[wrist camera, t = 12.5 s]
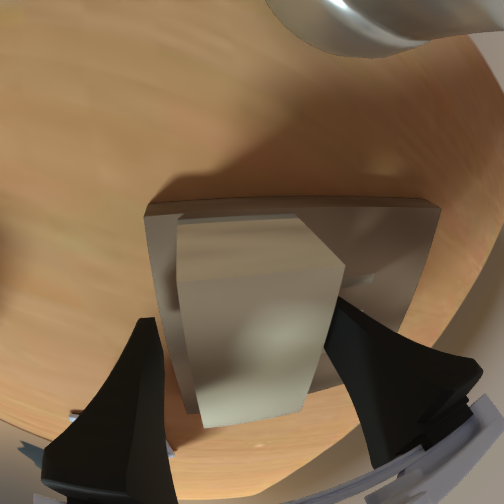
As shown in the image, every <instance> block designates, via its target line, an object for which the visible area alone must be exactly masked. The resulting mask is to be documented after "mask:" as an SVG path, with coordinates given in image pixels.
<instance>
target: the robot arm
mask: <svg viewBox="0 0 504 504" xmlns="http://www.w3.org/2000/svg"><path fill="white" fill-rule="evenodd" d="M323 347H324V350H325V352H326V353H327V355H328V357H329V359H330V360H331V362H332V364H333V366H334V368H335V369H336V371H337V373H338V374H339V376H340V378H341V380H342V381H343V383H344V385H345V387H346V389H347V391H348V393H349V395H350V397H351V400H352V402H353V405H354V407H355V410H356V412H357V415H358V418H359V421H360V423H361V426H362V429H363V433H364V436H365V439H366V443H367V447H368V451H369V455H370V460H371V464H372V467H373V468H374V470H373V471H371V472H369V473H366V474H364V475H362V476H360V477H358V478H355V479H353V480H351V481H348V482H346V483H343V484H341V485H338V486H335V487H333V488H330V489H327V490H325V491H322V492H319V493H316V494H313V495H309V496H306V497H303V498H300V499H296V500H293V501H289V502H285V503H281V504H334V503H337V502H339V501H342V500H344V499H347V498H349V497H351V496H354V495H356V494H358V493H360V492H362V491H365V490H367V489H369V488H371V487H373V486H375V485H377V484H379V483H381V482H383V481H385V480H387V479H388V478H391V477H392V476H394V475H396V474H398V473H399V474H398V476H397V479H396V480H395V481H393V482H391V483H389V484H388V485H386V486H384V487H382V488H380V489H379V490H377V491H375V492H373V493H371V494H369V495H367V496H365V498H364V499H365V501H366V503H367V504H437V503H438V502H440V501H441V500H442V499H443V498H444V497H445V496H446V495H447V494H448V493H449V492H450V491H451V490H452V489H453V488H454V487H456V486H457V485H458V484H459V483H460V481H461V480H462V479H463V478H464V477H465V476H466V475H467V474H468V473H469V472H470V471H471V470H472V469H473V468H474V466H475V465H476V464H477V463H478V462H479V461H480V460H481V458H482V457H483V456H484V455H485V454H486V452H487V451H488V450H489V449H490V447H491V446H492V445H493V444H494V442H495V441H496V440H497V439H498V438H499V437H500V435H501V434H502V433H503V432H504V418H503V416H502V415H501V413H500V412H499V411H498V409H497V408H496V406H495V405H494V404H493V402H492V401H491V400H490V398H489V397H488V396H487V395H486V394H483V395H482V396H481V397H480V398H479V399H478V400H476V401H475V402H474V403H473V404H472V405H471V406H470V407H468V405H467V404H466V403H468V402H469V399H468V398H467V396H466V395H467V394H468V393H469V391H470V390H471V389H472V388H473V387H474V385H475V384H476V383H477V382H478V380H479V379H480V378H481V376H482V374H483V369H482V368H481V367H480V366H479V365H478V363H477V362H476V361H475V360H474V359H472V358H467V357H461V356H456V355H452V354H448V353H444V352H440V351H438V350H435V349H432V348H429V347H426V346H424V345H421V344H419V343H416V342H414V341H412V340H410V339H408V338H406V337H404V336H402V335H400V334H398V333H396V332H394V331H393V330H391V329H389V328H387V327H386V326H384V325H382V324H381V323H379V322H378V321H376V320H374V319H373V318H371V317H370V316H368V315H367V314H365V313H364V312H362V311H361V310H359V309H358V308H356V307H355V306H353V305H352V304H350V303H349V302H347V301H346V300H344V299H343V298H341V297H339V296H338V297H337V301H336V305H335V309H334V312H333V316H332V319H331V323H330V326H329V330H328V333H327V336H326V340H325V343H324V346H323ZM164 383H165V369H164V355H163V349H162V345H161V341H160V337H159V334H158V330H157V326H156V322H155V317H151V318H140V319H139V320H138V321H137V323H136V326H135V328H134V330H133V332H132V334H131V336H130V338H129V340H128V342H127V344H126V346H125V348H124V350H123V352H122V354H121V356H120V358H119V360H118V361H117V363H116V365H115V366H114V368H113V370H112V371H111V373H110V375H109V376H108V378H107V380H106V381H105V383H104V384H103V386H102V387H101V388H100V390H99V391H98V393H97V394H96V395H95V397H94V398H93V399H92V401H91V402H90V403H89V404H88V406H87V407H86V408H85V409H84V411H83V412H82V413H81V414H80V415H77V414H69V420H70V421H71V422H72V424H71V425H70V426H69V427H68V428H67V429H66V430H65V431H64V432H63V433H62V434H61V435H59V436H58V437H57V438H56V439H55V440H54V441H53V442H51V443H50V444H49V445H48V446H47V447H45V449H44V453H43V459H42V470H41V481H42V483H43V484H44V485H46V486H47V487H49V488H51V489H53V490H55V491H57V492H58V493H60V494H63V495H65V496H67V503H66V502H63V501H60V500H57V499H53V498H49V497H46V496H43V495H40V494H37V493H35V494H34V504H178V501H177V497H176V493H175V489H174V485H173V480H172V475H171V470H170V465H169V459H168V457H174V456H175V453H174V452H173V450H172V448H171V447H170V445H169V443H168V442H167V440H166V438H165V430H164Z"/></svg>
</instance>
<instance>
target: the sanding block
mask: <svg viewBox="0 0 504 504" xmlns="http://www.w3.org/2000/svg"><path fill="white" fill-rule="evenodd" d="M344 269H345V264H344V263H343V262H342V261H341V260H340V259H339V258H338V257H337V256H336V255H335V254H334V253H333V252H332V251H331V250H330V249H329V248H328V247H327V246H326V245H325V244H324V243H323V242H322V241H321V240H320V239H319V238H318V237H317V236H316V235H315V234H314V233H313V232H312V231H311V230H310V229H309V228H308V227H307V226H306V225H305V224H304V223H303V222H302V221H301V220H300V219H299V218H298V217H297V216H296V215H295V214H270V215H248V216H229V217H212V218H196V219H182V220H177V254H176V282H177V290H178V297H179V304H180V311H181V317H182V324H183V330H184V336H185V341H186V347H187V352H188V358H189V363H190V368H191V373H192V378H193V383H194V387H195V392H196V396H197V401H198V405H199V410H200V414H201V418H202V422H203V426H204V428H212V427H220V426H228V425H235V424H241V423H247V422H253V421H259V420H264V419H269V418H274V417H278V416H283V415H287V414H291V413H295V412H299V411H301V409H302V407H303V404H304V401H305V399H306V396H307V393H308V391H309V388H310V385H311V382H312V379H313V377H314V374H315V371H316V368H317V365H318V362H319V359H320V356H321V352H322V349H323V346H324V343H325V340H326V336H327V333H328V330H329V326H330V323H331V319H332V316H333V312H334V309H335V305H336V301H337V297H338V294H339V290H340V286H341V282H342V278H343V274H344Z"/></svg>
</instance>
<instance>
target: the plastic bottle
mask: <svg viewBox="0 0 504 504" xmlns="http://www.w3.org/2000/svg"><path fill="white" fill-rule="evenodd" d="M265 1H266V3H267V5H268V6H269V7H270V9H271V10H272V12H273V13H274V15H275V16H276V17H277V18H278V19H279V20H280V21H281V23H282V24H283V25H284V26H285V27H286V28H287V29H289V30H290V31H291V32H292V33H294V34H295V35H296V36H297V37H298V38H300V39H302V40H303V41H305V42H306V43H308V44H310V45H311V46H313V47H315V48H318V49H320V50H322V51H324V52H327V53H331V54H334V55H337V56H345V57H356V58H370V59H374V58H385V57H388V56H391V55H394V54H397V53H400V52H404V51H407V50H410V49H414V48H416V47H419V46H421V45H423V44H426V43H428V42H430V41H431V40H434V39H439V38H445V37H450V36H457V35H464V34H472V33H481V32H493V31H504V0H265Z"/></svg>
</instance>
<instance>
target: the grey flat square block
mask: <svg viewBox="0 0 504 504" xmlns="http://www.w3.org/2000/svg"><path fill="white" fill-rule="evenodd" d="M440 212H441V208H440V207H438V206H436V205H434V204H433V203H431V202H429V201H427V200H425V199H413V198H392V197H362V196H276V197H244V198H222V199H204V200H189V201H175V202H163V203H151V204H148V206H147V209H146V212H145V214H144V223H145V231H146V238H147V245H148V252H149V258H150V264H151V270H152V276H153V281H154V287H155V292H156V297H157V302H158V307H159V312H160V316H161V321H162V325H163V329H164V334H165V338H166V342H167V346H168V350H169V354H170V358H171V361H172V365H173V369H174V372H175V376H176V379H177V383H178V386H179V389H180V393H181V396H182V399H183V402H184V406H185V409H186V412H187V414H195V413H200V410H199V405H198V401H197V396H196V392H195V387H194V383H193V378H192V373H191V368H190V363H189V358H188V352H187V347H186V341H185V336H184V330H183V324H182V317H181V311H180V304H179V297H178V290H177V282H176V254H177V220H182V219H196V218H212V217H229V216H248V215H270V214H295V215H296V216H297V217H298V218H299V219H300V220H301V221H302V222H303V223H304V224H305V225H306V226H307V227H308V228H309V229H310V230H311V231H312V232H313V233H314V234H315V235H316V236H317V237H318V238H319V239H320V240H321V241H322V242H323V243H324V244H325V245H326V246H327V247H328V248H329V249H330V250H331V251H332V252H333V253H334V254H335V255H336V256H337V257H338V258H339V259H340V260H341V261H342V262H343V263H344V264H345V269H344V274H343V278H342V282H341V286H340V290H339V294H338V296H339V297H341V298H343V299H344V300H346V301H347V302H349V303H350V304H352V305H353V306H355V307H356V308H358V309H359V310H361V311H362V312H364V313H365V314H367V315H368V316H370V317H371V318H373V319H374V320H376V321H378V322H379V323H381V324H382V325H384V326H386V327H387V328H389V329H391V330H393V331H394V332H396V333H397V332H398V330H399V328H400V325H401V323H402V321H403V319H404V317H405V314H406V312H407V310H408V307H409V305H410V303H411V300H412V298H413V295H414V293H415V290H416V288H417V285H418V282H419V280H420V277H421V274H422V271H423V269H424V266H425V263H426V260H427V257H428V254H429V251H430V248H431V244H432V241H433V238H434V234H435V231H436V227H437V224H438V220H439V216H440ZM341 384H344V383H343V381H342V380H341V378H340V376H339V374H338V373H337V371H336V369H335V368H334V366H333V364H332V362H331V360H330V359H329V357H328V355H327V353H326V352H325V350H324V347H323V349H322V352H321V356H320V359H319V362H318V365H317V368H316V371H315V374H314V377H313V379H312V382H311V385H310V388H309V391H308V393H307V394H309V393H313V392H317V391H321V390H324V389H328V388H331V387H334V386H338V385H341Z"/></svg>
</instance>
